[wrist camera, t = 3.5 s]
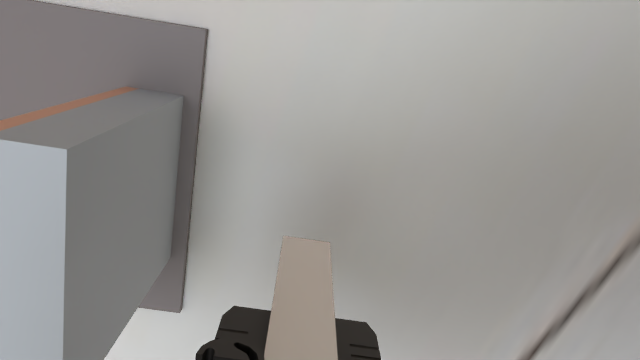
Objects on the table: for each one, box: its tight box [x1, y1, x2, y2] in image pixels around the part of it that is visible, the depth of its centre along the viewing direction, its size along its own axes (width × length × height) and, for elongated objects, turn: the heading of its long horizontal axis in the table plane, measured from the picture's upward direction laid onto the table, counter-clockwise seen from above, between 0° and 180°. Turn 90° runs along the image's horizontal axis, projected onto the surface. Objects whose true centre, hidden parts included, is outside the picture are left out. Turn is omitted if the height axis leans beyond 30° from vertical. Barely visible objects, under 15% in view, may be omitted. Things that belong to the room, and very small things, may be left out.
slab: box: [0, 87, 184, 360], centre depth 18 cm, size 3×8×11 cm, turn 171°
